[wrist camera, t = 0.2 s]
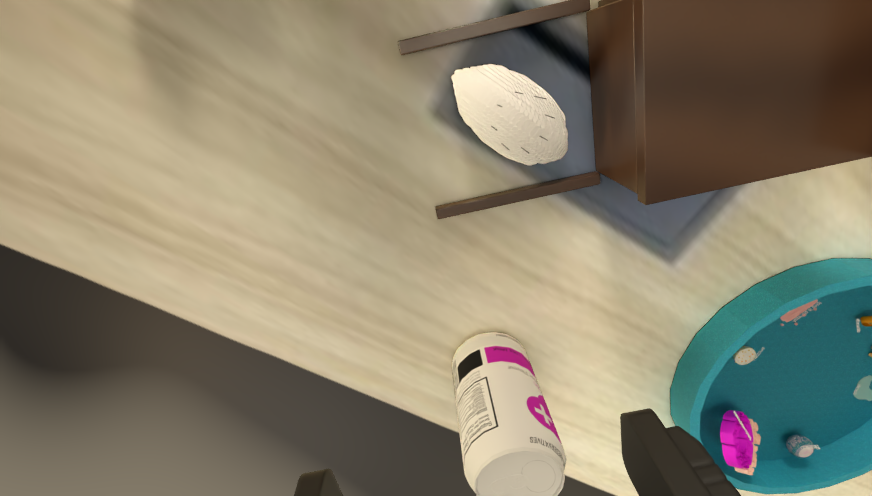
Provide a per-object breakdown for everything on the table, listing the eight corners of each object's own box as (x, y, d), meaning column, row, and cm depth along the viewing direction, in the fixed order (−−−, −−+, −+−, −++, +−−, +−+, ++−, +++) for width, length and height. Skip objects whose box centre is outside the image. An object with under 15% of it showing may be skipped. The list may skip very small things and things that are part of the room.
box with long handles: (398, 42, 33) (386, 23, 20) (805, -56, 32) (1070, -141, 19) (437, 216, 39) (447, 287, 26) (783, 140, 38) (973, 176, 25)
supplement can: (514, 318, 44) (559, 432, 30) (533, 376, 47) (581, 503, 33) (441, 341, 45) (453, 462, 31) (464, 397, 48) (484, 529, 34)
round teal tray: (618, 385, 48) (644, 425, 43) (864, 199, 40) (934, 219, 35) (751, 498, 57) (786, 543, 52) (974, 363, 49) (1043, 400, 44)
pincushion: (432, 105, 35) (435, 111, 30) (474, 39, 33) (485, 33, 28) (541, 182, 38) (560, 199, 33) (585, 124, 36) (613, 133, 31)
